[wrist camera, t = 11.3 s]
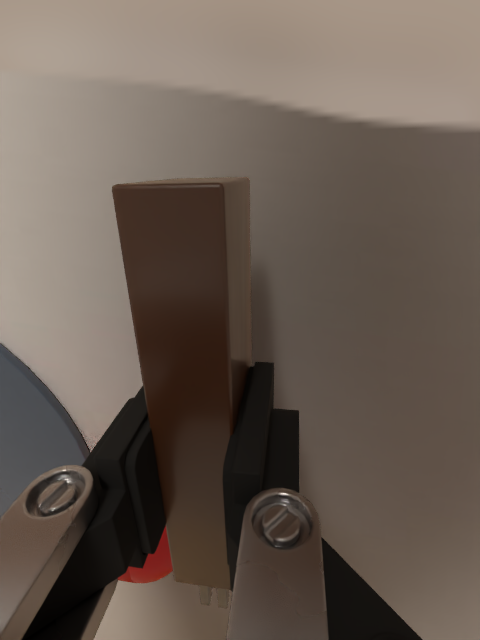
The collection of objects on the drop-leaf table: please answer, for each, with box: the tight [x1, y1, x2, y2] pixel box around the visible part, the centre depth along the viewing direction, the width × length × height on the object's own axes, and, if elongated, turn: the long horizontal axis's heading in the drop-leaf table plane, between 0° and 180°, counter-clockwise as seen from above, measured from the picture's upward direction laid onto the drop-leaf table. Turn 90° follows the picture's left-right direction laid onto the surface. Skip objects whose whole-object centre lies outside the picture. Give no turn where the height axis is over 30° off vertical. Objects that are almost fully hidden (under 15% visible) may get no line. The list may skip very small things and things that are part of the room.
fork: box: [112, 177, 252, 608], centre depth 10 cm, size 3×16×3 cm, turn 1°
